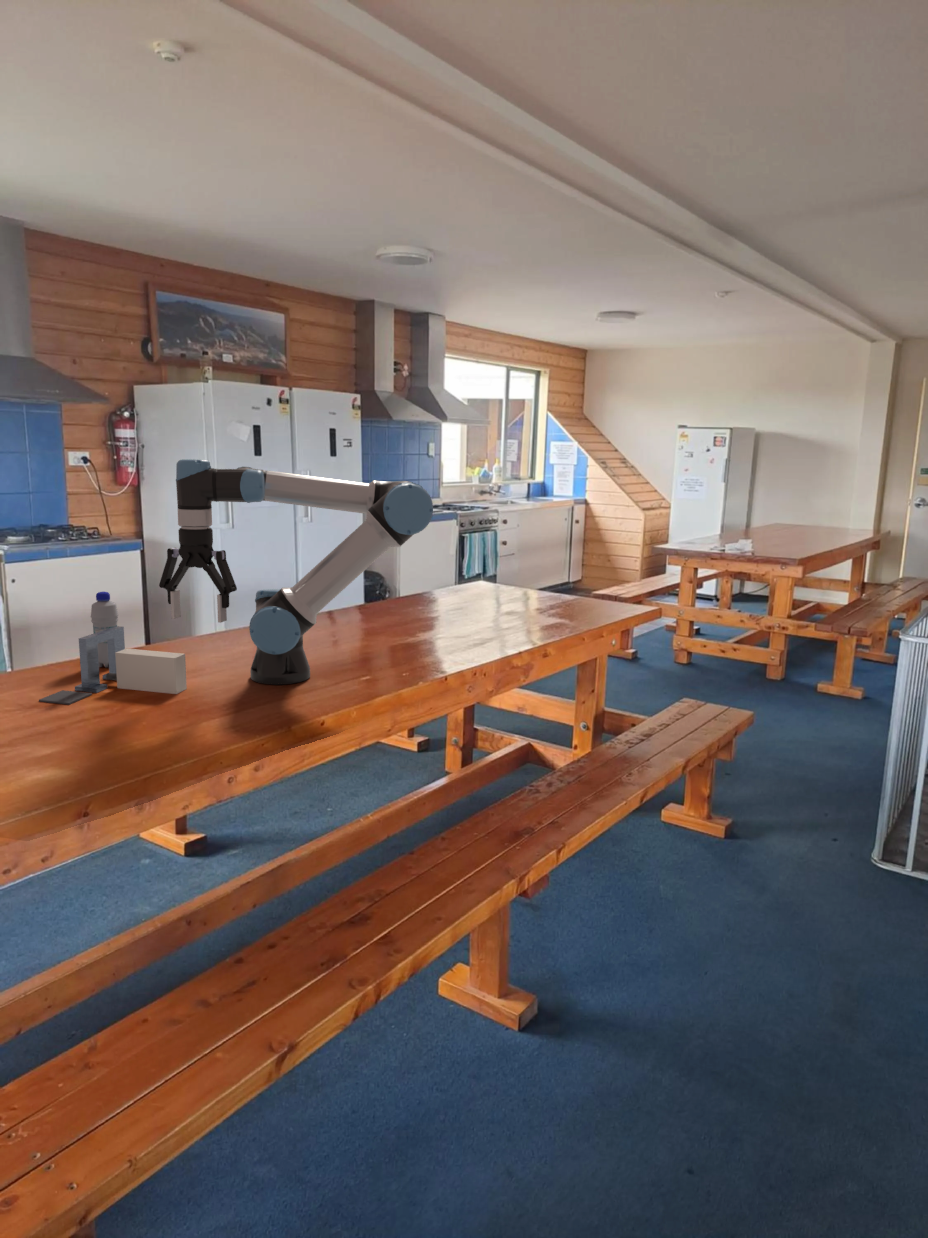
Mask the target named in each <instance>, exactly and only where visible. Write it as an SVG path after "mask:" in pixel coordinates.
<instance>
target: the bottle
mask: <svg viewBox="0 0 928 1238" xmlns="http://www.w3.org/2000/svg"><path fill="white" fill-rule="evenodd" d="M95 600H96V602H93V603H92V604H91V607H90V608H91V609H90V610H91V612H90V619H91V620H90V621H91V623H92V632H93V633H92V634H94V633H97V632H100V631H103V630H106V629H109V628H112V627H116V626H118V621H119V612H118V608H117V603H116V602H113V601H111V593H110V592H108V591H98V592H97V593H96V595H95ZM97 645H98V661H99V668H102V667H105V668H109V660H108V644H107V641H104V642H101V643H98V644H97Z"/></svg>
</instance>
